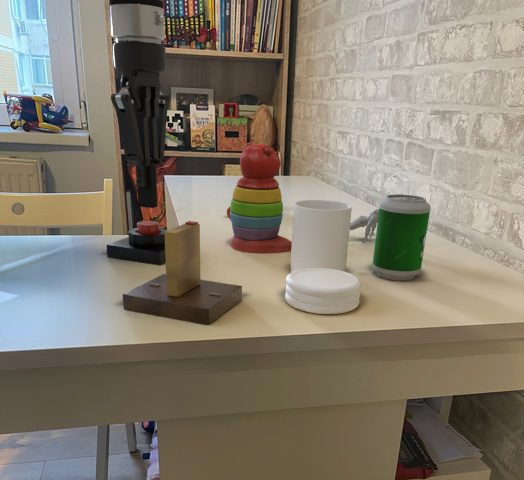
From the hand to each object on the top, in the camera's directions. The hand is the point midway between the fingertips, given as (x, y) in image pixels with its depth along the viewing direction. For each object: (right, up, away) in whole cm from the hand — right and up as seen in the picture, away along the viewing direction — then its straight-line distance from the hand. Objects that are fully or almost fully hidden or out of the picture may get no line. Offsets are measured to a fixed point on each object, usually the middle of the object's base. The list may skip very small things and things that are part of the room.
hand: (148, 206), depth 91 cm
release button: (0, -4, +2) cm, 4 cm away
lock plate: (+8, -18, -18) cm, 27 cm away
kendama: (+15, +8, +40) cm, 43 cm away
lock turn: (+9, -16, -19) cm, 26 cm away
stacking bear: (+18, -5, +11) cm, 21 cm away
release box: (0, -7, +3) cm, 8 cm away
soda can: (+40, -12, -3) cm, 41 cm away
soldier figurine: (+37, -2, +19) cm, 42 cm away
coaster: (+27, -17, -16) cm, 35 cm away
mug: (+27, -11, -2) cm, 29 cm away
